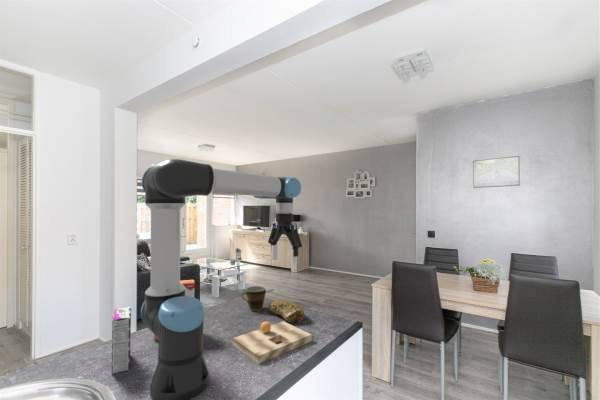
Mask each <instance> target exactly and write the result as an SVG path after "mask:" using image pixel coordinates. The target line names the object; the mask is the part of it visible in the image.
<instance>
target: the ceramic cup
mask: <svg viewBox="0 0 600 400" xmlns="http://www.w3.org/2000/svg"><path fill="white" fill-rule="evenodd" d="M266 292H267V288H266V287H265V286H260V285H259V286H256V285H255V286H249V287H246V288H245V291H244V292H242V293H241V295H240V296H241V298H242V299H243V300H244V301H245V302H246V303H247V305H248V310H249V311H251V312H259V311H262V310H263V308H264V301H265V297H266ZM244 294H245V295H246V298H244V297H243V295H244Z"/></svg>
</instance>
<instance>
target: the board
mask: <svg viewBox="0 0 600 400" xmlns="http://www.w3.org/2000/svg"><path fill="white" fill-rule="evenodd" d="M270 325H271V329H270V331H269V332H267V333H264V332H262V331H261V328H259V329H256V330H252V331H250V332H248V333H243V334H240V335H239V336H236V337H232V343H231V345H232V346H233V347H235V348H236V349H237V350H238V351H240V352H241V353H243V354H244V355H245V356H247V357H248V358H249V359H251V360H252V361H254V362H255V363H256V364H258V365H260V364H262V363H264V362H266V361H269V360H271V359H273V358H276V357H279V356H281V355H283V354H285V353H288V352H289V351H292V350H295V349H297V348H298V347H301V346H304V345H306V344H308V343H310V342H312V339H313V338H312V336H313V335H312V334H311V333H309V332H307V331H305V330H304V329H300V328H298V327H296V326H294V325H292V324H291V323H289V322H287V321H279V322H277V323H274V324H270Z"/></svg>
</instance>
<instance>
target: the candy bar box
mask: <svg viewBox="0 0 600 400" xmlns="http://www.w3.org/2000/svg"><path fill="white" fill-rule="evenodd" d="M111 324H112V328H111V329H112V331H111V336H112V337H111V339H112V340H111V375H116V374H119V373H123V372H124V373H125V372H127V371H130V369H131V345H132V344H131V338H132V337H131V336H132V333H131V332H132V331H131V330H132V329H131V328H132V306H125V307H118V308H114V312H113V316H112V323H111Z"/></svg>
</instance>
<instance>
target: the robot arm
mask: <svg viewBox="0 0 600 400" xmlns="http://www.w3.org/2000/svg"><path fill="white" fill-rule="evenodd" d="M141 187H142V189H143V191H144V193H145V196H144V197H145V199H144V200H145V203H144V205H145V206H146V207H147V208H148V209H149V210H150V286H149V287H148V288H147V289H146V290H145V292H144V301H143V303H142V305H141V308H140V316H141V321H142V322H143V325H144V326H145V327H146V328H147V329H149V331H151V332H152V334H153V335H154V334H155V336H156V337H157V338H158V340H157V341H158V353H157V354H158V357H157V358H158V359H157V360H158V361H157V365H156V368H155V370H154V374H153V376H152V379H151V383H150V388H149V390H150V392H149V393H150V398H151V399H153V400H191V399H194V398H196V397H197V396H199V395H201V393H203V392H204V391H205V390H206V388H207V387H208V386H209V383H210V382H209V381H210V380H209V379H210V374H209V369H208V366H207V363H206V360H205V357H204V352H203V351H204V322H205V321H204V319H205V312H204V304H203V303H202V301H201V300H200V299H198V298H196V297H194V298H193V297H190V298H189V297H187V296H185V287H184V286H183V285H182V284H181V283H180V281H181V210H182V209H183V207H185V205H186V197H194V196H203V197H204V196H205V197H207V196H209V195H211V194H225V195H238V196H239V195H240V196H241V195H242V196H252V197H254V198H256V199H261V200H262V199H267V200H268V199H271V200H272V199H273V200H274V199H275V212H276V213H275V222H276V223H275V222H274V223H272V226H271V227H272V229H271V231H270V234H269V238H268V240H267V243H268V244H270V249H271V250H270V252H271V260H272V261H274V260H275V261H277V260H278V242H279V241H280V238H281V236H282V235H285V236H286V237H287V239H288V241H289V243H290V245H291V252H290V253H291V256H290V258H291V260H290V261H291V262H290V263H291V264H290V265H292V266H293V265H298V257H299V249H300V248H302V247H303V244H302V241H301V238H300V235H299V232H298V225H297V224H292V222H294V214H293V212H294V198H296V197H298V196H299V195H300V194H301V191H302V184H301V182H300V179H298V178H297V177H289V176H271V175H265V174H258V173H248V172H242V171H234V170H226V169H218V168H214V167H213V166H212V165H211V164H206V163H200V162H195V161H190V160H185V159H181V158H180V159H179V158H176V159H175V158H171V159H167V160H165V161H162V162H156V163H154V164H152V165H150V166H149V167H148V168H147V169H146V170H144V172H143V175H142V178H141Z"/></svg>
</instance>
